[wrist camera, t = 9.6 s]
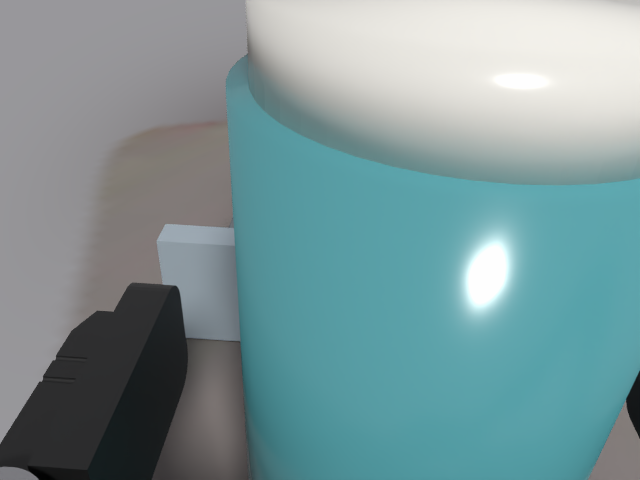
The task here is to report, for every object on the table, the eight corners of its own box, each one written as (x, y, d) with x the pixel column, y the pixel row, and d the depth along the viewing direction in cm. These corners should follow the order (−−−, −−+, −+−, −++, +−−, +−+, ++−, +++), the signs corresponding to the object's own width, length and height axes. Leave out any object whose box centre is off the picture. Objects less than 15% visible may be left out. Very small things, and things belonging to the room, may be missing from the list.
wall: (684, 351, 20) (732, 258, 18) (697, 372, 20) (750, 277, 17) (178, 317, 21) (165, 223, 19) (170, 336, 20) (156, 240, 18)
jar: (477, 496, 15) (643, -39, 8) (526, 766, 11) (992, 88, 4) (272, 481, 16) (261, -56, 8) (236, 739, 11) (144, 45, 4)
